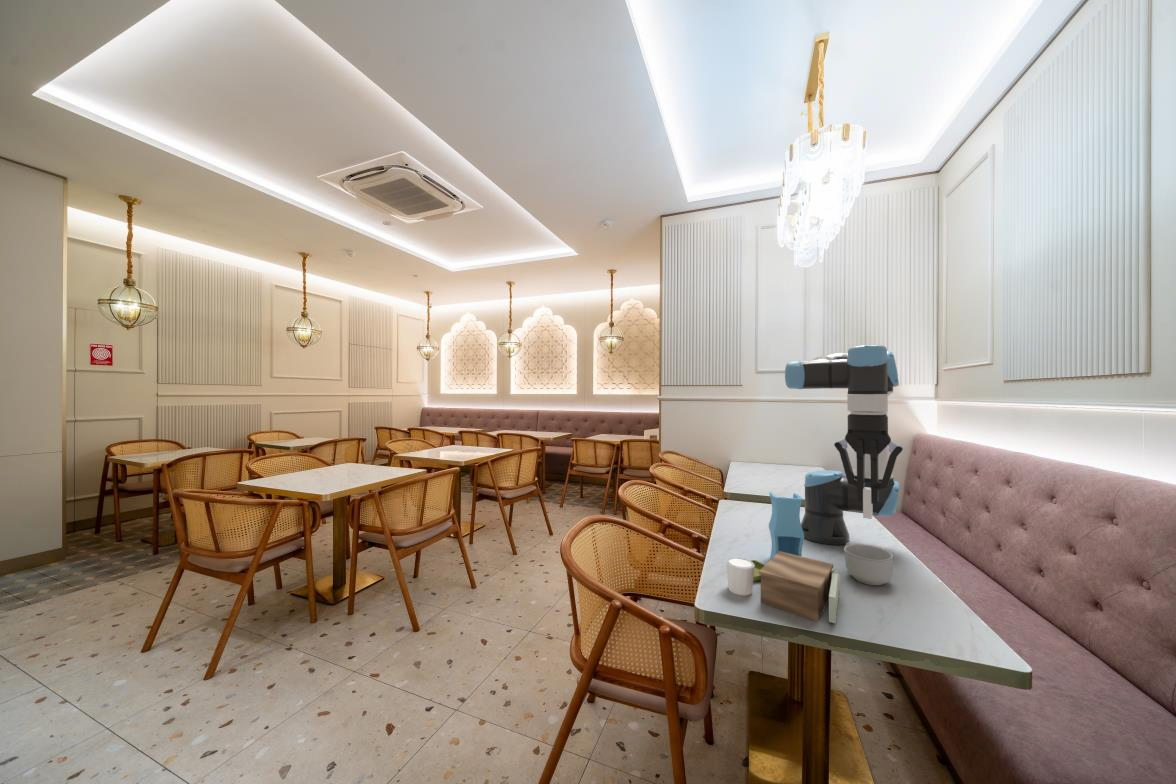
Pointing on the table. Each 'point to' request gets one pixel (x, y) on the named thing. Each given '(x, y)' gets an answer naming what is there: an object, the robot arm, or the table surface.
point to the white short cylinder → (740, 575)
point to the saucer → (757, 570)
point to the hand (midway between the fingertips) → (867, 517)
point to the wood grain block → (796, 584)
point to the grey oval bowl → (869, 563)
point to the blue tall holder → (786, 525)
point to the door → (833, 596)
